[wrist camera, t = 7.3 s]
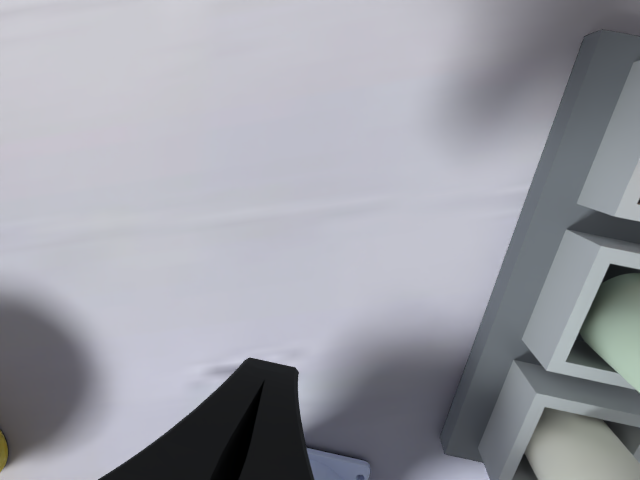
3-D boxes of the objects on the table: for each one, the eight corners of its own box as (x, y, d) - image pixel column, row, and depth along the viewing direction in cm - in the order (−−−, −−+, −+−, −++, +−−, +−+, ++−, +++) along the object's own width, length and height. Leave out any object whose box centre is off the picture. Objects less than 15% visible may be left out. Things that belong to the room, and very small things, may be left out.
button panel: (592, 470, 22) (637, 537, 18) (439, 437, 22) (456, 495, 19) (802, 77, 15) (934, 62, 12) (584, 36, 16) (651, 9, 12)
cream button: (575, 459, 20) (628, 538, 16) (501, 443, 20) (535, 517, 16) (606, 399, 19) (670, 468, 15) (527, 382, 19) (571, 446, 15)
